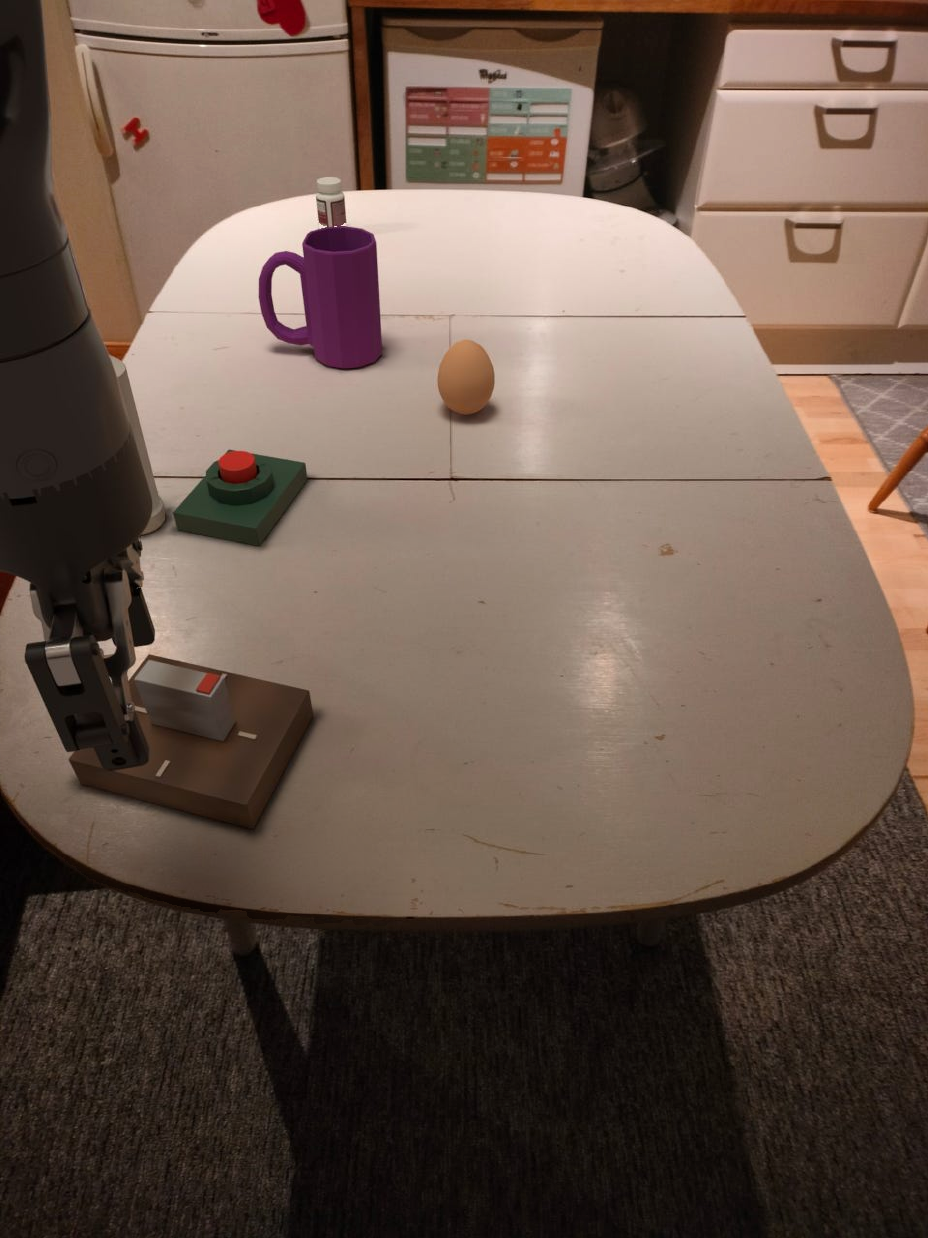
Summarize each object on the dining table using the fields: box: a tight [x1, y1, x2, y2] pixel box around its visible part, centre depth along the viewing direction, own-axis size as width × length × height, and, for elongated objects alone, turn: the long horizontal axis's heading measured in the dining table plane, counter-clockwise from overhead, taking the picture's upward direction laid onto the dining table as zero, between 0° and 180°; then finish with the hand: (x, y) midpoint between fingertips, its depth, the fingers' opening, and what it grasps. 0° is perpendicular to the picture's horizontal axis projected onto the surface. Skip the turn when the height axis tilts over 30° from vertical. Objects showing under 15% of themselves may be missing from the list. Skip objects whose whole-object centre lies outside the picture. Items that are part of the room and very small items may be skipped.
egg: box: [436, 339, 495, 415], centre depth 100 cm, size 7×7×9 cm
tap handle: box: [134, 660, 236, 741], centre depth 61 cm, size 6×2×5 cm, turn 74°
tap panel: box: [68, 653, 314, 830], centre depth 64 cm, size 14×11×3 cm
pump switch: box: [172, 449, 308, 546], centre depth 87 cm, size 12×9×4 cm
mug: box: [258, 225, 383, 370], centre depth 108 cm, size 9×16×15 cm, turn 87°
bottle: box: [109, 354, 166, 536], centre depth 77 cm, size 5×5×25 cm
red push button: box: [218, 450, 257, 484], centre depth 85 cm, size 4×4×2 cm
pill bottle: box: [315, 176, 347, 227], centre depth 142 cm, size 5×5×8 cm
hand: (132, 699), depth 45 cm, fingers open, 8 cm apart
